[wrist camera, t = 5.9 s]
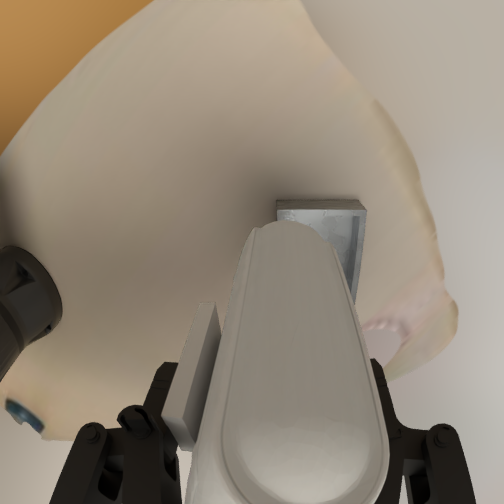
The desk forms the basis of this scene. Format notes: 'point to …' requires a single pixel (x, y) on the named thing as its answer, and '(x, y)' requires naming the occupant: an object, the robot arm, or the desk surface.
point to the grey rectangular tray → (333, 229)
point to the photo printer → (290, 384)
